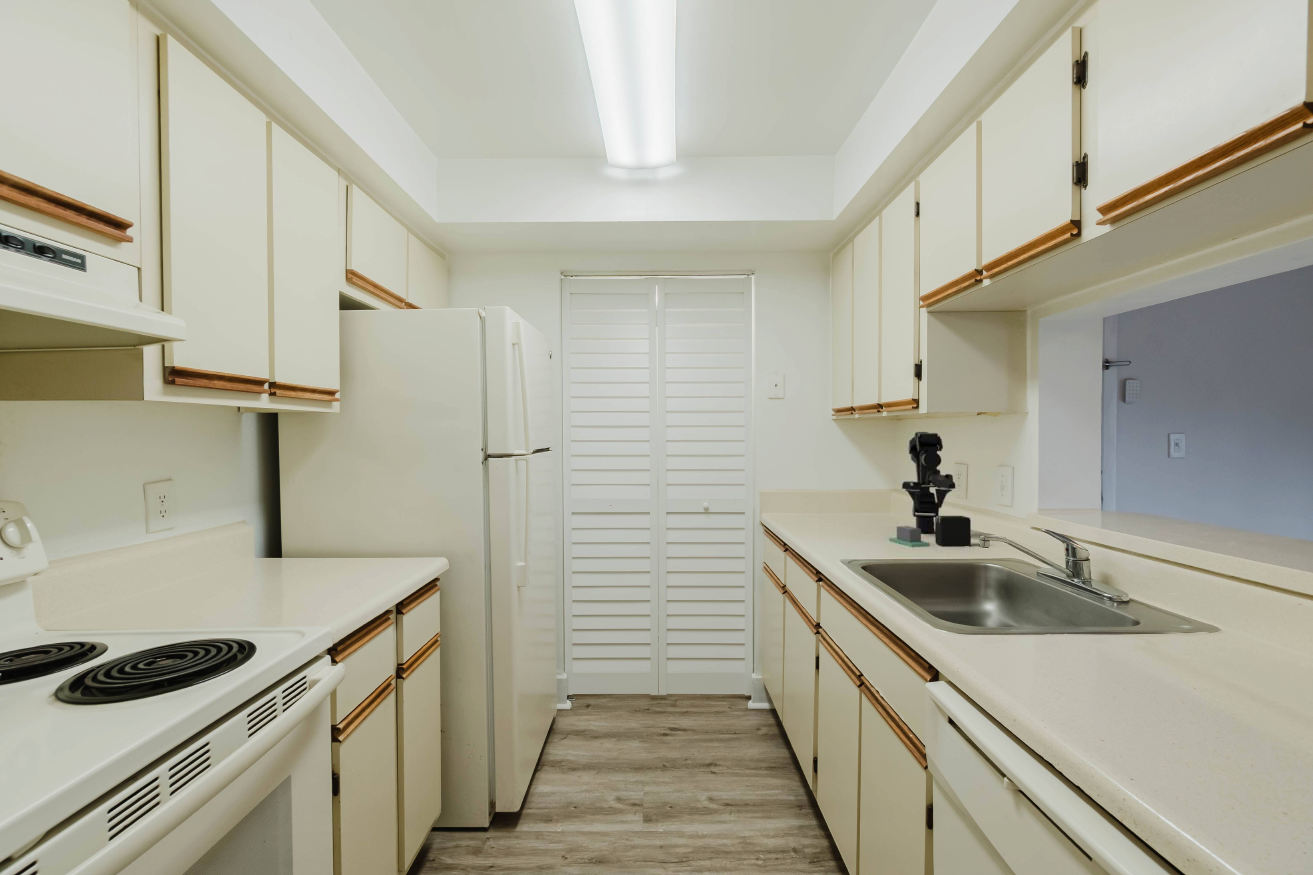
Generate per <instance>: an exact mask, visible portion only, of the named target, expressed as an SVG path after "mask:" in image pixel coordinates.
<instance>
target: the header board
mask: <svg viewBox="0 0 1313 875" xmlns="http://www.w3.org/2000/svg"><path fill="white" fill-rule="evenodd" d="M888 540H889V542H892V543H896V544H899V545H904V546H908V547H910V548H915V547H916V548H918V547H919V548H920V547H930V542H927V541H922V540H921V542H911V543H910V542H906V541H902V540H899V539H897V537H889V538H888Z"/></svg>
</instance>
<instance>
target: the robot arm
mask: <svg viewBox="0 0 1313 875" xmlns="http://www.w3.org/2000/svg"><path fill="white" fill-rule="evenodd" d="M943 445H944V444H943V440H942V438H941V436H940V435H939V434H938V433H937V432H927V431H917V432H914V436H913V437H912V438H911V439H910V440H909V442H908V454H909V455H910V460H911V461H912V462H913V463H914V464H915V472H916V481H913V480H912V481H910V480H909V481H907V480H906V481H903V482H902V484H901V485H902V486H901V489H903V490H905V492H907V494H908V495H909V496H910V498H911V500H912V502H913V504H912V512H911V513H912V517H913V518H915V528H919V529H921V534H924V535H925V534H935V517H936V516H940V513H939V512H940V509H942V506H943V504H944V501H945V499H946V497H947V495H948V494H949V493H950V492H952V491H953V490H955V489H956V483H955V482H954V475H953V474H951V473H949V474H948V473H945V474H941V471H940V469H938V467H939V466H940V465H941V463H942V456H940V454H939V453H938V452H942V450H943V448H944V446H943ZM930 488H931V489H932V488H934V491H935V492H932V491H931V489H930Z"/></svg>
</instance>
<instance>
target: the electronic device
mask: <svg viewBox="0 0 1313 875" xmlns="http://www.w3.org/2000/svg"><path fill="white" fill-rule="evenodd" d="M971 522H972V521H971V518H970V517H968V516H964V515H939V516H936V517H934V531H935V533H934V534H935V538H934V540H935V544H936V545H938V546H941V547H949V548H950V547H951V548H953V547H957V548H961V547H965V546H969V547H971V545H972V543H971V542H972V540H971V538H972V537H971V536H972V535H971V533H972V530H971V529H972V527H971V525H972V524H971Z"/></svg>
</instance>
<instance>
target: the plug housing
mask: <svg viewBox="0 0 1313 875" xmlns="http://www.w3.org/2000/svg"><path fill="white" fill-rule="evenodd" d="M896 538H897V539H899V540H902V541H906V542H910V543H911V542H921V541H922V533H921V529H919V528H916V527H914V526H908V525H900V526H896Z"/></svg>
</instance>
